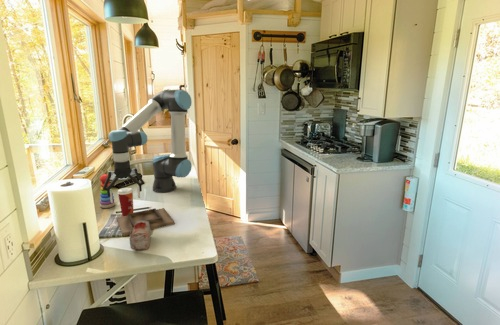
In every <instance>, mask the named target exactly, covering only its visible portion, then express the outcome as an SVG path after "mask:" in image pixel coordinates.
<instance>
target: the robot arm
mask: <svg viewBox="0 0 500 325" xmlns="http://www.w3.org/2000/svg"><path fill="white" fill-rule="evenodd" d="M191 107H192V97H191V95H190V94H189V92H187V91H186V90H185V89H166V90H165V89H164V90H162V91H159V92H158V93H156V94H155V95H153V96H152V97H150V99H149V100H148V101H147V104H146V105H144V107H142V108H141V109H140V110H138V112H137V113H135V114H134V115H133V116H132V117H131V118H130V119H129V120H127V122H125V123H124V124H123V125H121V126H120V128H118V129H116V130H115V129H113V130H111V131H110V132H109V133H108V140H109V142H111V150H112V160H113V166H114V167H113V169H114V170H113V171H111V170H108V171H107V175H108V176H107V179H106V181H105V183H104V186H103V190H107V195H108V197H110V200H111V203H113V200H112V193H113V190H112V191H111V189H112V188H113V186H114V185H115V184H116V182H118V180H119V179H120V180H123V179H128V178H129V179H131V180H132V181H133V182H134V183H135V184H136V190H137V191H136V192H137V198H138V199H141V192H142V191H143V190H142V188H143V187H142V186H143V185H145V184H146V182H145V181H144V180H143V178H142V177H141V176H140V175H141V174H139V173H138V172H139V171H138V169H137V167H133V168H131V161H130V152H129V148H134V147H141V146H144V145H146V144H147V143H148V134H146V133H145V132H144V131H139V130H140V129H141V128H142V127H143V126H145V125H146V124H147V123H148V122H149V121H151V119H153V117H155V115H157V114H160V113H161V112H162V111H164V110H167V112H168V113H169V115H170V133H171V134H170V149H171V150H170V153H169V154H167V153H166V154H160V155H156V156H154V157H153V158H152V166H153V175H154V176H153V178H154V180H153V183H152V192H154V193H161V194H162V193H168V192H169V193H170V192H172V191H175V190H176V189H177V185H176V182H175V180H174V178H173V177H176V178H186V177H187V176H189V174H190V173H191V171H192V162H191V161H190V160H189V159H188V158H189V155H187V154H186V115H187V114H188V111H189V109H190V108H191ZM132 172H133V173H134V174H135V175H136V177H137V178H138V179H139V181H138V180H137V179H136V177H134V176H133V175H132V174H131V173H132ZM113 175H115V176H114V178H113V179H112V181H111V182H110V181H109V180H111V178H112V176H113ZM109 182H110V184H109V186H108V187H107V185H108V183H109Z"/></svg>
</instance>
